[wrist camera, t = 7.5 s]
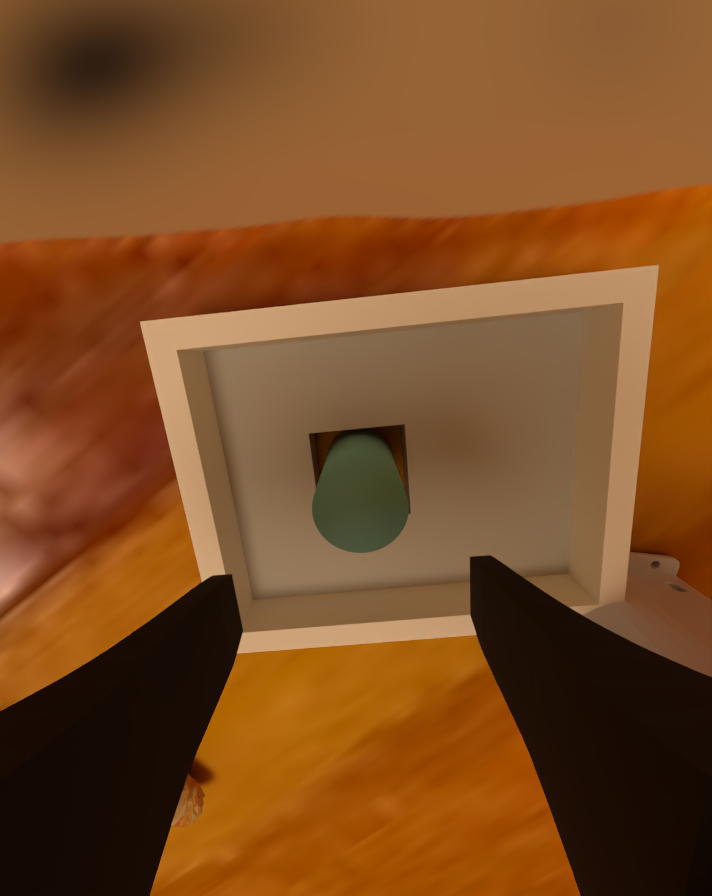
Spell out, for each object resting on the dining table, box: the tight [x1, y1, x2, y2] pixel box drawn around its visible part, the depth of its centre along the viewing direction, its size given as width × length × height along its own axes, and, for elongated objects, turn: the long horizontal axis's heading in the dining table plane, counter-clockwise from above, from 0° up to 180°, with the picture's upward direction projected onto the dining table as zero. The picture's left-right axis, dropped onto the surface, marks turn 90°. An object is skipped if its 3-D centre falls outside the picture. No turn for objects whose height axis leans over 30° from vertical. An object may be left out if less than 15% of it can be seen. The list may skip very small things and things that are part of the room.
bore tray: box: [140, 265, 659, 653], centre depth 17 cm, size 20×16×4 cm
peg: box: [312, 428, 409, 553], centre depth 16 cm, size 4×4×7 cm
